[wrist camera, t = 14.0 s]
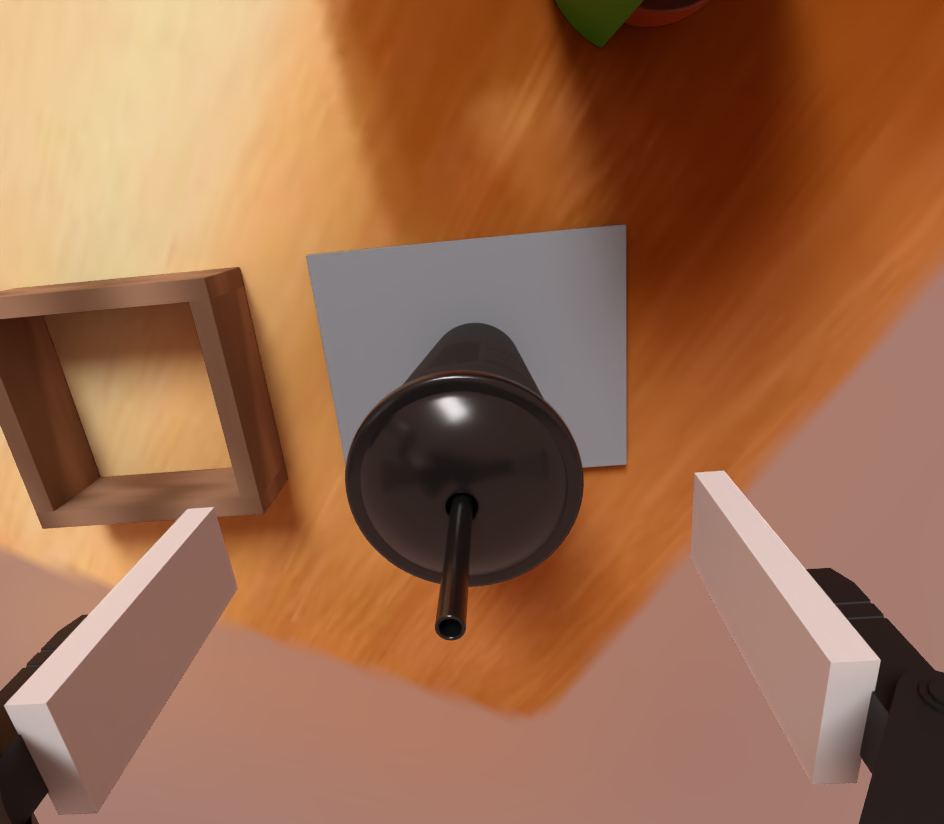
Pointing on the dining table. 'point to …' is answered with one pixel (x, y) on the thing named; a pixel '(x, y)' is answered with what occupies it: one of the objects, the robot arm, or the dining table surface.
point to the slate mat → (484, 321)
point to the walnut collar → (60, 431)
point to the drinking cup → (465, 471)
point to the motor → (623, 15)
